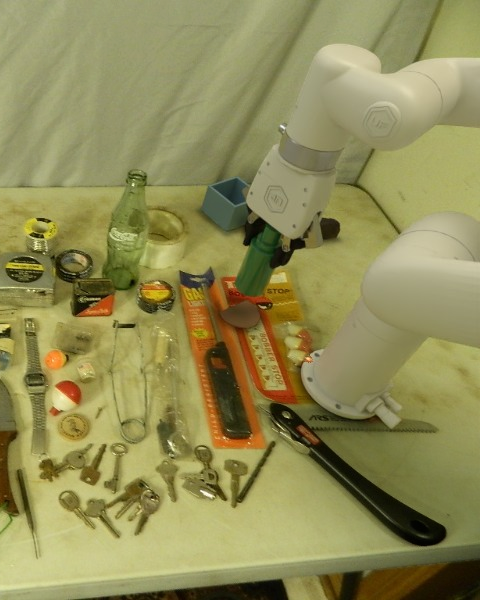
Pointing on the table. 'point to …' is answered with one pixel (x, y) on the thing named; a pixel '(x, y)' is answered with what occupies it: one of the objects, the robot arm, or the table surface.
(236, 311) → the coaster
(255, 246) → the bottle
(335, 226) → the hand tool
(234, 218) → the blue open box
